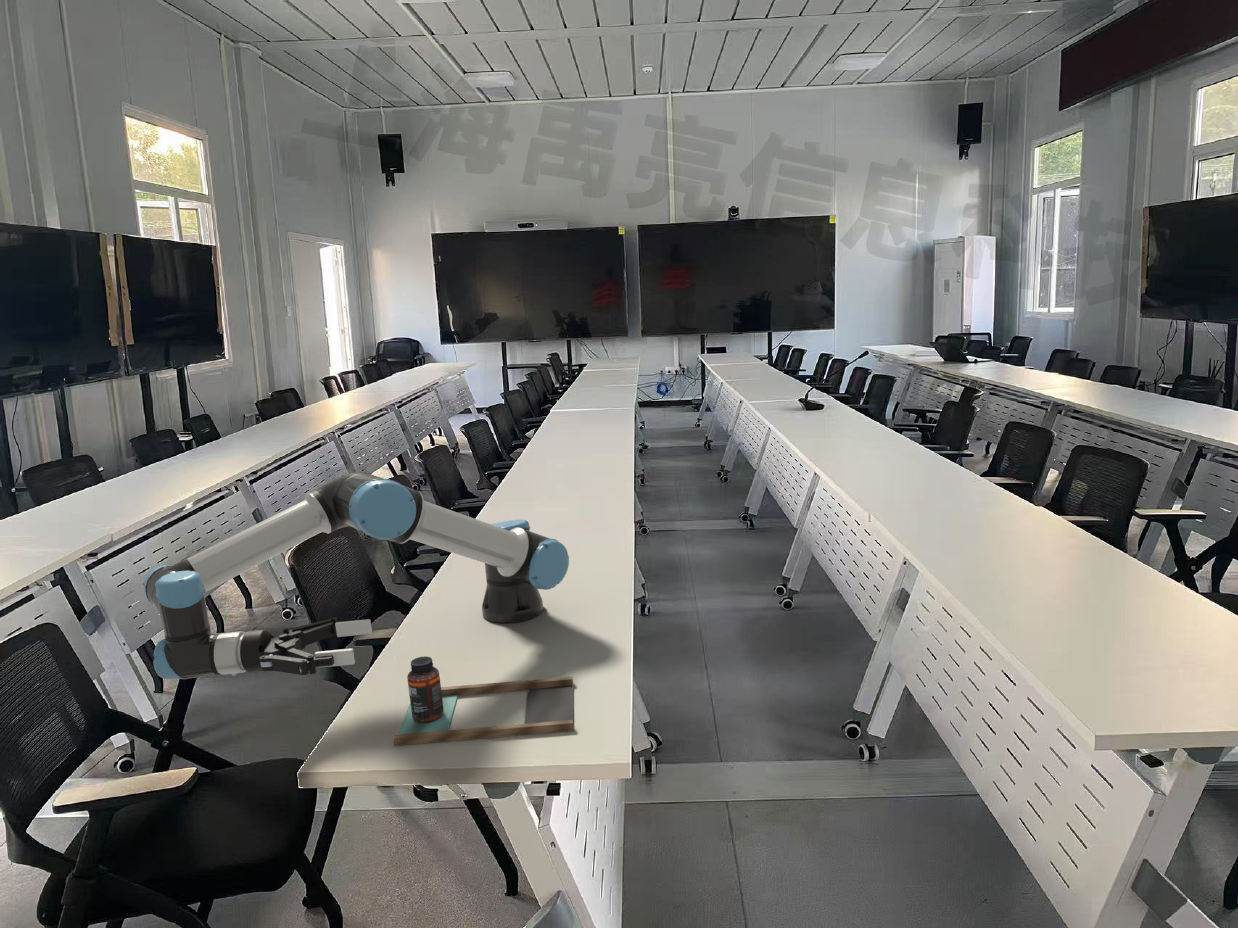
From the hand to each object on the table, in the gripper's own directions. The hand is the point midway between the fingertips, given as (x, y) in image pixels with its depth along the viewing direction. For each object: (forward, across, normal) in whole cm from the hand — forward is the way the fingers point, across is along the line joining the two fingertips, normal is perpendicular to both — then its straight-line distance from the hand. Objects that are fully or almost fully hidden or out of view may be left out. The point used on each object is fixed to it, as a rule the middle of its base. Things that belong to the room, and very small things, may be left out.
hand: (362, 640), depth 159 cm
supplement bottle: (+10, 0, -17) cm, 19 cm away
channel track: (+22, 0, -17) cm, 27 cm away
